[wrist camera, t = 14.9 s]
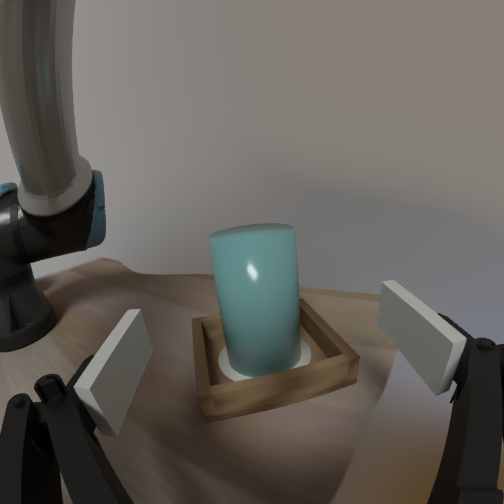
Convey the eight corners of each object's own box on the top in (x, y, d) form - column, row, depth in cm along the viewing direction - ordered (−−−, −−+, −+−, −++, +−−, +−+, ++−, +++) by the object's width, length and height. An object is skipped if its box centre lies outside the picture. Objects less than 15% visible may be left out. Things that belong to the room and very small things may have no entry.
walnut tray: (206, 422, 19) (197, 396, 18) (196, 341, 31) (191, 318, 31) (356, 382, 21) (359, 356, 21) (302, 320, 34) (302, 298, 33)
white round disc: (225, 397, 21) (225, 393, 21) (214, 343, 30) (213, 339, 30) (326, 372, 23) (326, 368, 23) (292, 327, 31) (292, 324, 31)
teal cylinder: (235, 385, 22) (212, 247, 19) (223, 343, 29) (205, 231, 26) (312, 366, 23) (309, 232, 20) (286, 330, 30) (278, 220, 27)
